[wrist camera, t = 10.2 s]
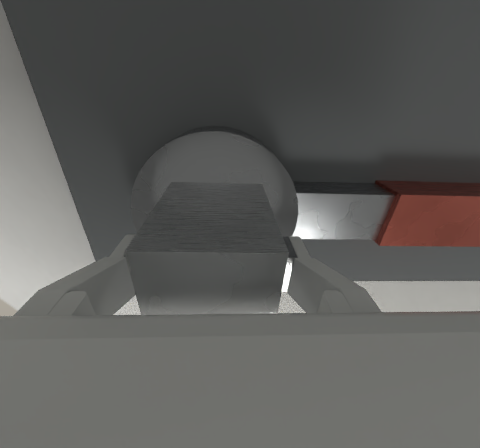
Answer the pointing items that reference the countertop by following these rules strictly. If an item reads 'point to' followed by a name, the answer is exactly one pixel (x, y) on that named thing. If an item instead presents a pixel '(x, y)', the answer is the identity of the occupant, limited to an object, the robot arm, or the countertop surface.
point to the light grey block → (209, 252)
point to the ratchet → (314, 194)
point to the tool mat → (263, 100)
